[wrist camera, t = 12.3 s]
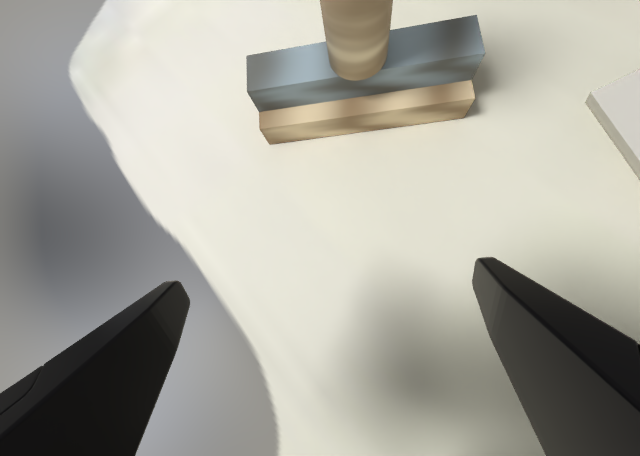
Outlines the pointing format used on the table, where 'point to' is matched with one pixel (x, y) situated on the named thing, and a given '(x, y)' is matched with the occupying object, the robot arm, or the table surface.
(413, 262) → the table surface
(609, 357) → the robot arm
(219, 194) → the table surface
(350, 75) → the maple post
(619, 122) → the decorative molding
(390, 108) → the ridge rail
